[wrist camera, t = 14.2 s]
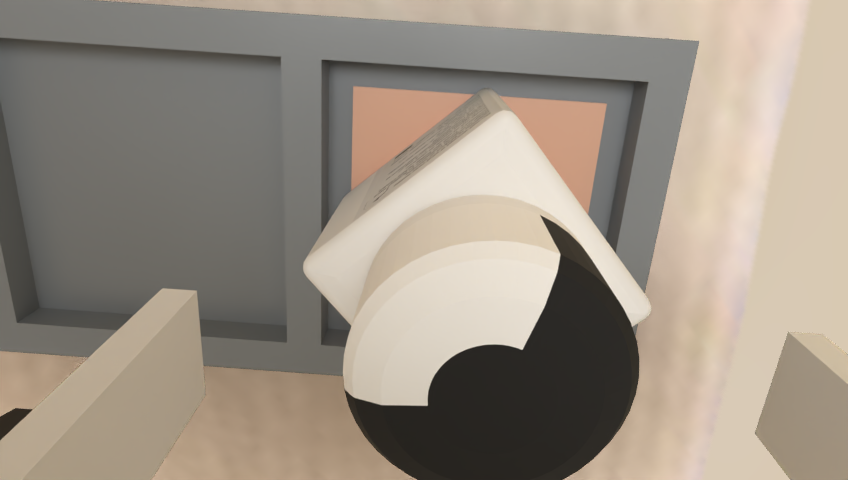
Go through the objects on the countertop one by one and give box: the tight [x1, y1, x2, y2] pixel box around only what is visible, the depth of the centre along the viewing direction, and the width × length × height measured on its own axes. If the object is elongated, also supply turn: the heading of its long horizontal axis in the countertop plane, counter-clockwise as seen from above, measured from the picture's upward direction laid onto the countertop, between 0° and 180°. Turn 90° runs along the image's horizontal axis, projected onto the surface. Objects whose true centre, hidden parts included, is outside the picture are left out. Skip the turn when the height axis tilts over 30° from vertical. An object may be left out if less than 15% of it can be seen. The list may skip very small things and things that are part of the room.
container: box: [303, 88, 651, 480], centre depth 18 cm, size 8×8×13 cm
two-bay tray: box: [0, 0, 699, 376], centre depth 24 cm, size 28×15×2 cm, turn 86°
